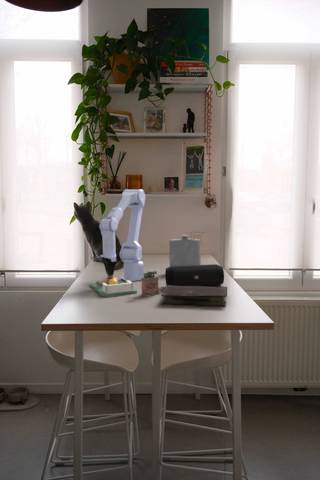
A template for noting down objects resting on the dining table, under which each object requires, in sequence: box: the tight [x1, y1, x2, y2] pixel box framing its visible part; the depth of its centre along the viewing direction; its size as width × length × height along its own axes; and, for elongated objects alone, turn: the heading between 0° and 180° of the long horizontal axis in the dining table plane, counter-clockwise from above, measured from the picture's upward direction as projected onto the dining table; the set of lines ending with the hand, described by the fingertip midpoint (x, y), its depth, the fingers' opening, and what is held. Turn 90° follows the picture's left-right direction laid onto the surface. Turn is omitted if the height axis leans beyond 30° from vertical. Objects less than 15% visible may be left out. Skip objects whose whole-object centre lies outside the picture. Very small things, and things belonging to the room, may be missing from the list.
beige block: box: [101, 271, 119, 285], centre depth 212 cm, size 6×5×8 cm
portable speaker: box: [164, 263, 225, 287], centre depth 211 cm, size 26×10×10 cm, turn 96°
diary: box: [160, 285, 228, 308], centre depth 188 cm, size 19×25×5 cm
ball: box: [109, 279, 118, 285], centre depth 208 cm, size 4×4×4 cm
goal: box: [102, 280, 134, 294], centre depth 202 cm, size 12×6×4 cm, turn 112°
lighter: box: [140, 270, 160, 297], centre depth 198 cm, size 8×3×10 cm, turn 118°
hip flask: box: [168, 234, 202, 267], centre depth 240 cm, size 16×4×20 cm, turn 85°
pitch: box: [89, 279, 138, 298], centre depth 209 cm, size 15×23×2 cm, turn 22°
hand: (110, 274), depth 212 cm, fingers closed on beige block, 2 cm apart
